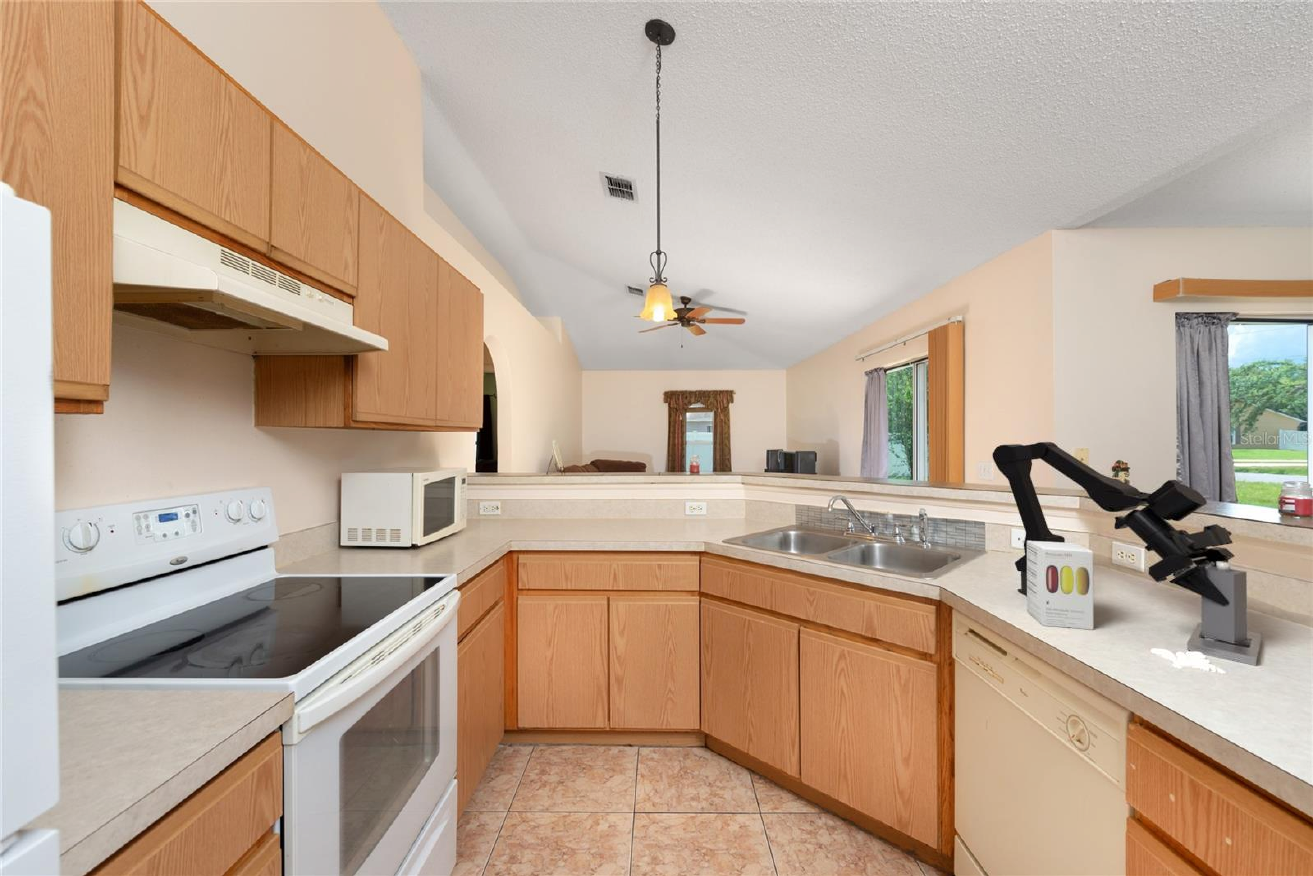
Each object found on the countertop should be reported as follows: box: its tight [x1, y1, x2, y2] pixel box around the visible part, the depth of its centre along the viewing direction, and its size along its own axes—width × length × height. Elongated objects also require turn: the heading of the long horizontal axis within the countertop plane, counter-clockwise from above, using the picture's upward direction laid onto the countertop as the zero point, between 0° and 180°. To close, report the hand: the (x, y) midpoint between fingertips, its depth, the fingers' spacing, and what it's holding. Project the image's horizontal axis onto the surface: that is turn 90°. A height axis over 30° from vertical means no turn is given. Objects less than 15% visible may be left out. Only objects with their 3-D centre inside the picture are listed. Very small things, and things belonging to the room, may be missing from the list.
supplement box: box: [1026, 541, 1095, 631], centre depth 112 cm, size 10×9×17 cm
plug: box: [1200, 561, 1248, 645], centre depth 97 cm, size 4×4×14 cm
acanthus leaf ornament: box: [1150, 648, 1227, 674], centre depth 91 cm, size 8×7×2 cm
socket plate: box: [1186, 621, 1262, 667], centre depth 97 cm, size 16×8×2 cm, turn 128°
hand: (1233, 602), depth 96 cm, fingers closed on plug, 4 cm apart
